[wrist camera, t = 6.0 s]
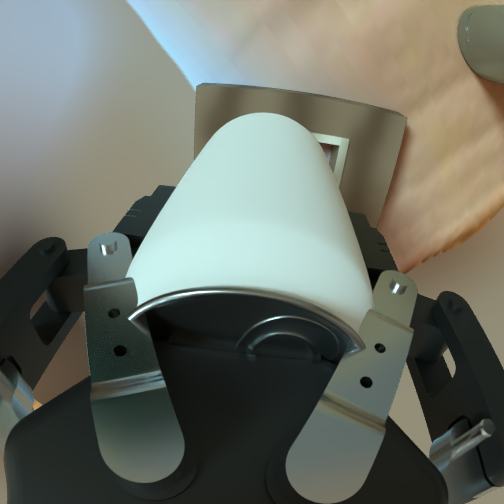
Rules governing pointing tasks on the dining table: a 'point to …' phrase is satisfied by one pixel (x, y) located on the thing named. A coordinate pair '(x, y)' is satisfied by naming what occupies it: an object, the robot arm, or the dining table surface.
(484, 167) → the dining table surface
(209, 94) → the socket board
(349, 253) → the can
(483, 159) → the dining table surface
